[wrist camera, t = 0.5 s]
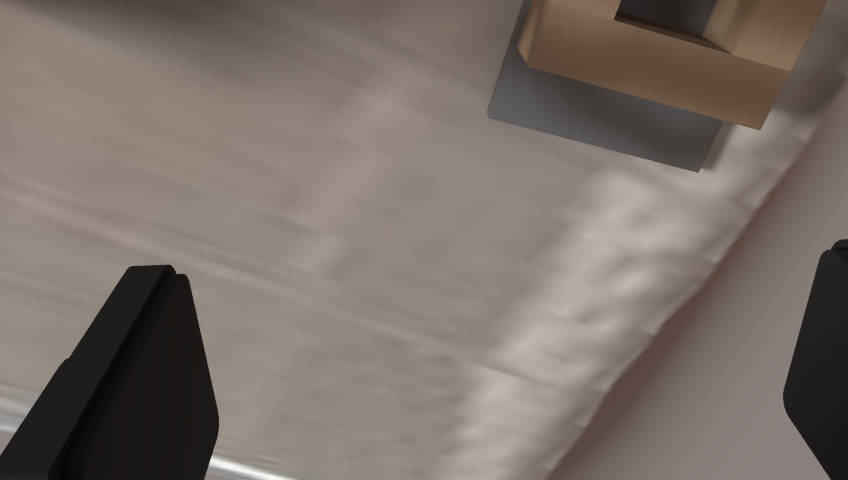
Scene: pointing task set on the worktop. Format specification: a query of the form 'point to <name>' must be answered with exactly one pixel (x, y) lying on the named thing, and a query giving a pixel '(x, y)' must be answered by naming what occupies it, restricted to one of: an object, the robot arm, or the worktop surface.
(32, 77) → the worktop surface
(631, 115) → the docking mount
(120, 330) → the robot arm
